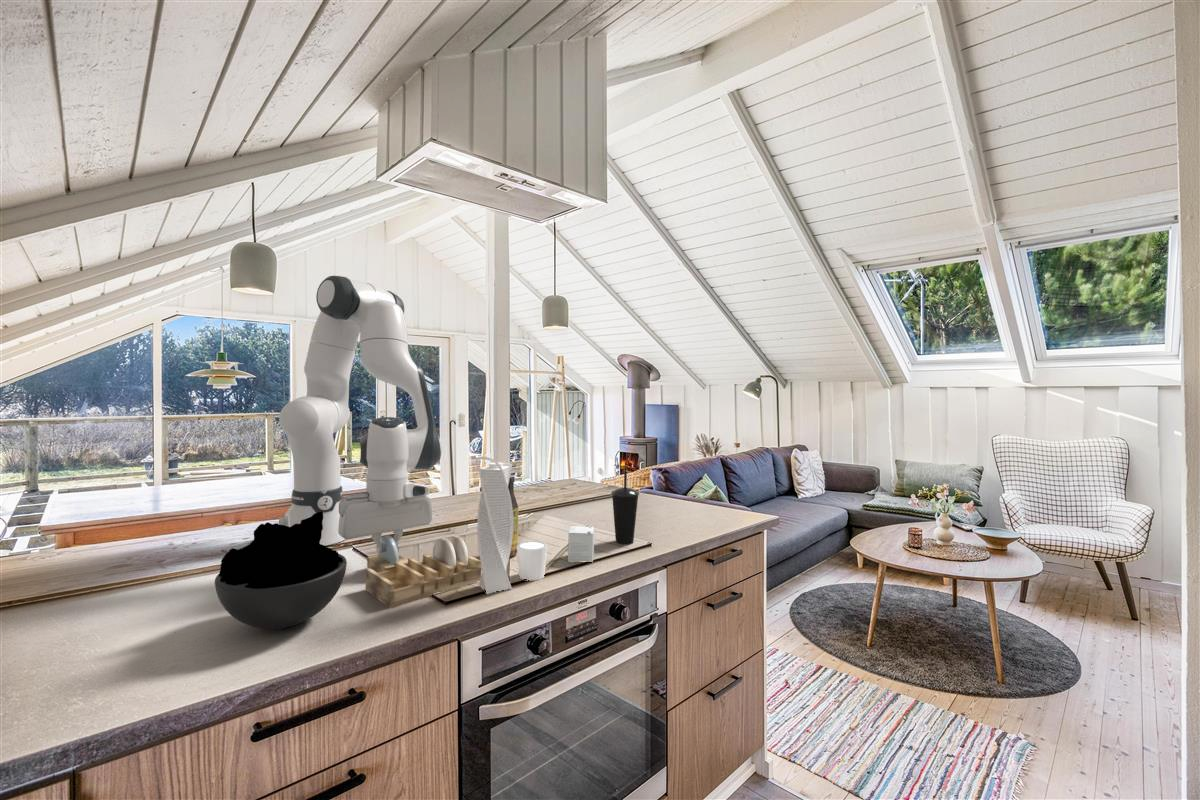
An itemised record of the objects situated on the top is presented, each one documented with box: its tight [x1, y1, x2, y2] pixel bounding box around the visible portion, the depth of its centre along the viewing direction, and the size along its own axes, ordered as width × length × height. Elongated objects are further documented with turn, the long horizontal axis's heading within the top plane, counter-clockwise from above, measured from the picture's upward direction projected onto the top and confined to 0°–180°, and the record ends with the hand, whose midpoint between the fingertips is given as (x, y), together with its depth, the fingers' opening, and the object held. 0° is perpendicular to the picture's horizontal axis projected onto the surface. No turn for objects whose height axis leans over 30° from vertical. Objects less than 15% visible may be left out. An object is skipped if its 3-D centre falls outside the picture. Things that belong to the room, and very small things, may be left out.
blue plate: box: [378, 534, 399, 565], centre depth 120 cm, size 8×1×8 cm, turn 45°
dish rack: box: [365, 535, 482, 609], centre depth 113 cm, size 12×20×9 cm, turn 135°
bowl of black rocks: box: [214, 511, 348, 630], centre depth 94 cm, size 20×20×19 cm
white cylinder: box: [516, 540, 548, 582], centre depth 119 cm, size 7×7×7 cm
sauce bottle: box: [508, 474, 519, 558], centre depth 133 cm, size 7×6×20 cm
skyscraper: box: [475, 456, 514, 595], centre depth 112 cm, size 8×8×28 cm
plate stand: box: [366, 553, 408, 573], centre depth 120 cm, size 11×6×3 cm, turn 45°
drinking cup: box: [610, 468, 640, 545], centre depth 145 cm, size 8×8×20 cm
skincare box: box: [567, 525, 595, 563], centre depth 131 cm, size 6×6×7 cm
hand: (387, 550), depth 120 cm, fingers closed on blue plate, 1 cm apart
